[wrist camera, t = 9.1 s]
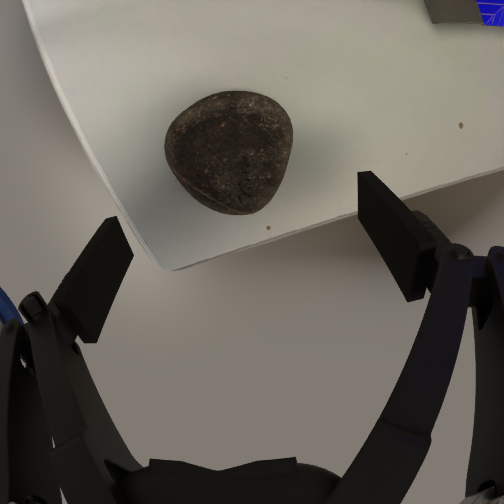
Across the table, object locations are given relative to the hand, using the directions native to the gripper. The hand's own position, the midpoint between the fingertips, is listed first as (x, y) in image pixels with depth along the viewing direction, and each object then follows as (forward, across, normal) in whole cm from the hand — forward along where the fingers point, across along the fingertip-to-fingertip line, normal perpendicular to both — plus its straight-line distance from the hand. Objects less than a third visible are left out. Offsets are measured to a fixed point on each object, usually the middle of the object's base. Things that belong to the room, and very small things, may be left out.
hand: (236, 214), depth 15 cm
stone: (+13, 0, 0) cm, 13 cm away
